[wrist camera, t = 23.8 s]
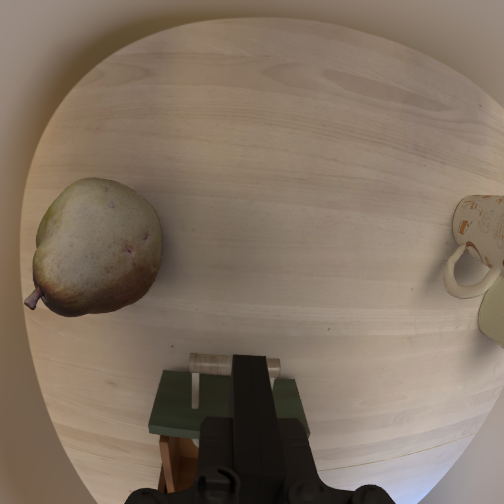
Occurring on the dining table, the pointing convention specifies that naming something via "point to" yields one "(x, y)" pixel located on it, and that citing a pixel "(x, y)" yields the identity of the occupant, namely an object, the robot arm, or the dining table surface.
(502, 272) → the mug
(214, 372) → the drawer
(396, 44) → the dining table surface
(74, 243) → the fruit
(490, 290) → the can
